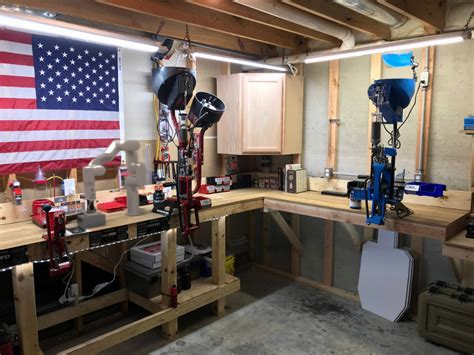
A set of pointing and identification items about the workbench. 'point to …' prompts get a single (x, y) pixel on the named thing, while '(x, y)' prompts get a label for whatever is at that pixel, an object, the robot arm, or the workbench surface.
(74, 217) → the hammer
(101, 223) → the block
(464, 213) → the workbench surface
